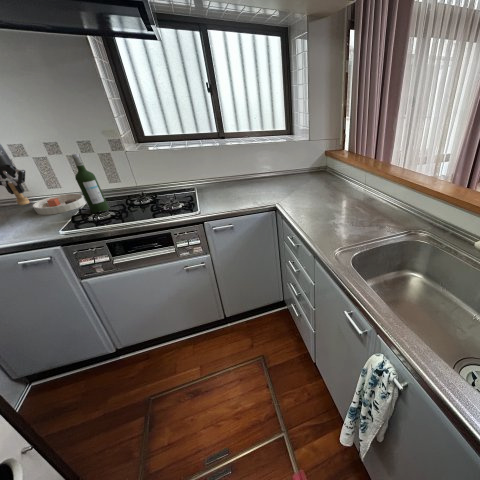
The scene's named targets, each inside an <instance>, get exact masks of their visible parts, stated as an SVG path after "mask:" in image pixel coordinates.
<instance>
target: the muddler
mask: <svg viewBox="0 0 480 480" xmlns="http://www.w3.org/2000/svg"><path fill="white" fill-rule="evenodd" d="M8 185H9V187H10V188H11V190H12V191H13V193H14V194H13V195H14V196H15V199H14V201H15V202H16V204H17V205H18V206H24V205H28V204H30V203H31V201H30V199H29V198H28V196H24V193H19V192H18V191H17V189H16V188H15V185H14V184H13V183H12V181H9V183H8Z"/></svg>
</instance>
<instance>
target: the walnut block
mask: <svg viewBox="0 0 480 480" xmlns="http://www.w3.org/2000/svg"><path fill="white" fill-rule="evenodd" d="M74 201H76V199H70V200H67V201H65V203H66V204H69V203H72V202H74Z"/></svg>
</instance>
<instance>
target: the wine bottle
mask: <svg viewBox="0 0 480 480" xmlns="http://www.w3.org/2000/svg"><path fill="white" fill-rule="evenodd" d="M71 158H72V159H73V161H74V163H75V166H76V169H77V173H75V177H74V178H75V181H76V182H77V184H78V185H77V186H78V187H79V189H80V191H81V193H82V195H83V197H84V199H85V201H86V204H87V205H88V208H89V210H90V212H91V213H92V214H97V213H96V212H99V211H104V210H108V211H109V210H110V206H109V204H108V202H107V200H106V197H105V195H104V193H103V191H102V189H101V186H100V184H99V181H98V179H97V177H96V175H95V174H94V173H93V172H91V171H89V170H87V169H86V167H85V165H84V163H83V161H82V159H81V158H80V155H79V154H78V153H72V154H71Z"/></svg>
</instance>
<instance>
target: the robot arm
mask: <svg viewBox="0 0 480 480" xmlns="http://www.w3.org/2000/svg"><path fill="white" fill-rule="evenodd" d="M9 182H12V183H13V184H14V185H15V188H16V189H17V191H18V192H19V193H22V194H24V193H25V189H24V186H22V184H23V183H25V182H26V169H20V168H19V169H18V168H17V167H16V166H14V164H13V161H12V160H11V158H10V157H9V155H8V153H7V151H6V150H5V148H4V147H3V145H2V144H1V143H0V186H1V187H4V188H5V190H6V191H7V192H8V194H10V195H14V193H13V191H12V190H11V188H10V187H9V185H8V183H9Z"/></svg>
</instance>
